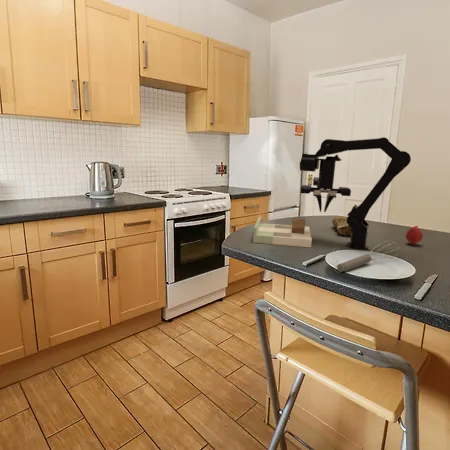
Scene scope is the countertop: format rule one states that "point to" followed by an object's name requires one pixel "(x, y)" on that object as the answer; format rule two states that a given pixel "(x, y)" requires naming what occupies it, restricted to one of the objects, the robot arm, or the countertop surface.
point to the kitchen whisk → (360, 260)
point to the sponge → (342, 226)
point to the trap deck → (280, 235)
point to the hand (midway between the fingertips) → (322, 211)
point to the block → (298, 226)
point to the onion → (414, 235)
